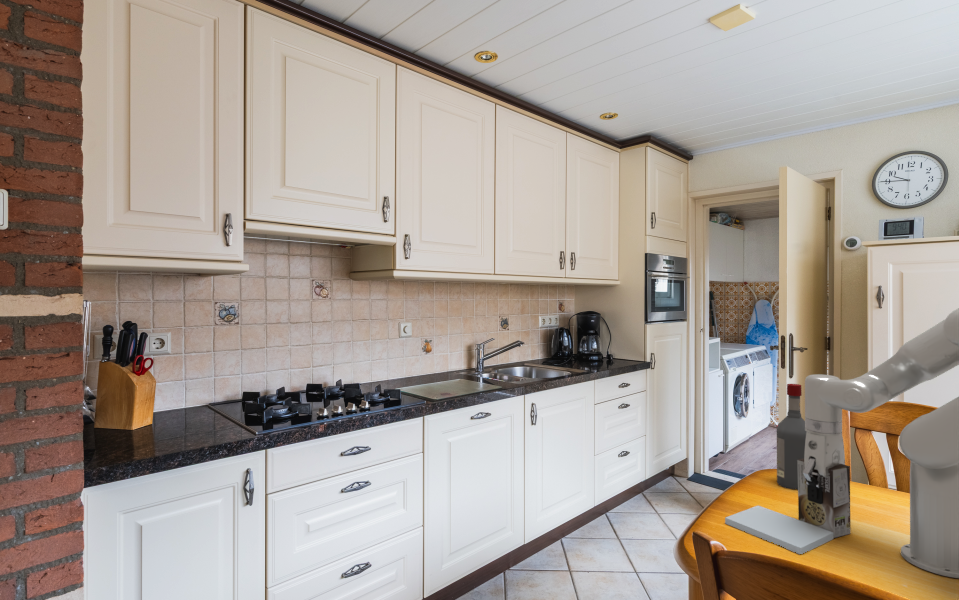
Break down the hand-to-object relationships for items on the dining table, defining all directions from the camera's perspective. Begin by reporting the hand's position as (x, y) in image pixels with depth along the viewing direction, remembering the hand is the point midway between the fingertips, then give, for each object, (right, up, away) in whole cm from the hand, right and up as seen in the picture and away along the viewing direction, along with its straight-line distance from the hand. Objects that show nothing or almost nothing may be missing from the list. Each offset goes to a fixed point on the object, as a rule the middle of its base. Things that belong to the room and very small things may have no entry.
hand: (823, 498), depth 124 cm
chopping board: (-12, -7, -1) cm, 14 cm away
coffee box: (0, -8, 0) cm, 8 cm away
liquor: (+10, -7, +28) cm, 31 cm away
